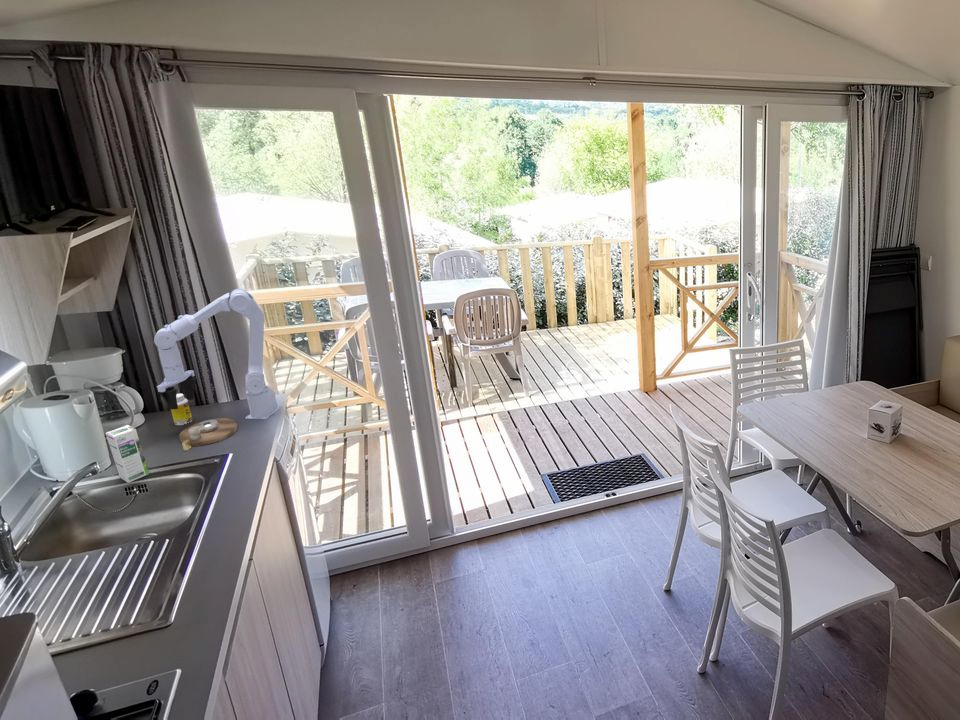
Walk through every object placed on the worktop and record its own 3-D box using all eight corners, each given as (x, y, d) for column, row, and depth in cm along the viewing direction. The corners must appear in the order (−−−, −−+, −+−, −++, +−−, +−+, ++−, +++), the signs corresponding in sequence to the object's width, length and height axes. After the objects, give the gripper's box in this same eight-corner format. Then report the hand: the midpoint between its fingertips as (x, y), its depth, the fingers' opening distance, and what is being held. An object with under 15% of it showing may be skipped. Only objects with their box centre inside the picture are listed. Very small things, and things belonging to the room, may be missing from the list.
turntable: (201, 422, 185) (197, 408, 183) (247, 422, 182) (244, 408, 181) (168, 446, 169) (164, 431, 167) (218, 446, 167) (214, 431, 165)
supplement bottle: (191, 424, 184) (183, 397, 181) (173, 427, 183) (165, 400, 180) (194, 418, 190) (187, 391, 186) (177, 421, 188) (169, 394, 185)
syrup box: (128, 483, 149) (113, 436, 144) (119, 477, 152) (104, 431, 148) (149, 474, 153) (136, 428, 148) (140, 468, 156) (127, 423, 152)
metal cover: (194, 433, 173) (192, 427, 172) (205, 425, 178) (204, 419, 178) (211, 433, 172) (210, 427, 171) (222, 425, 178) (220, 419, 177)
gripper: (177, 357, 181) (187, 395, 185) (144, 373, 167) (155, 412, 171) (196, 358, 179) (205, 395, 184) (164, 373, 166) (175, 413, 170)
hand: (182, 404), depth 177 cm, fingers open, 7 cm apart
